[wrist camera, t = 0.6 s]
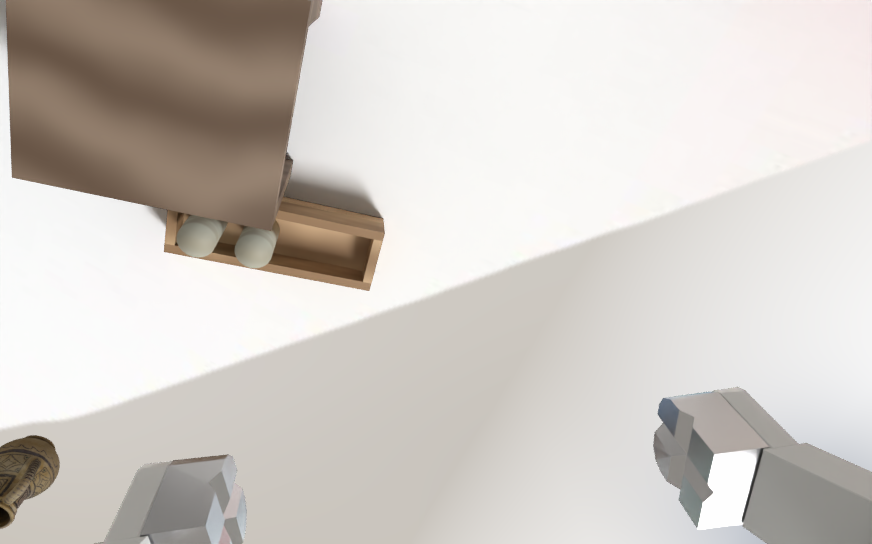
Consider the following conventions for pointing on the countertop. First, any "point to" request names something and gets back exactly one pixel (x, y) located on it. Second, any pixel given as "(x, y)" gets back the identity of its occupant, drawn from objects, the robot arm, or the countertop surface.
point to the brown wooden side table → (159, 100)
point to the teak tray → (287, 243)
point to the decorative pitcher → (25, 473)
